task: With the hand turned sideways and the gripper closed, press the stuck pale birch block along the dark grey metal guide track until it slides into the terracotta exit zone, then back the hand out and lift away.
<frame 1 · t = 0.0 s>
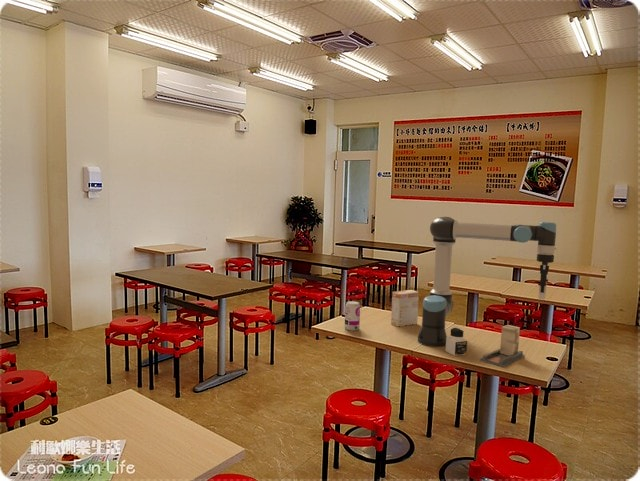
hand: (542, 296, 229), 28 cm above the table, tool pointing down, fingers open, 13 cm apart
supplement can: (351, 329, 262), on the table
coffeecake box: (404, 324, 276), on the table
guide track: (502, 358, 220), on the table
medicine bottle: (455, 353, 226), on the table
birch block: (509, 340, 224), point 8 cm above the table, slide at 0.0 cm
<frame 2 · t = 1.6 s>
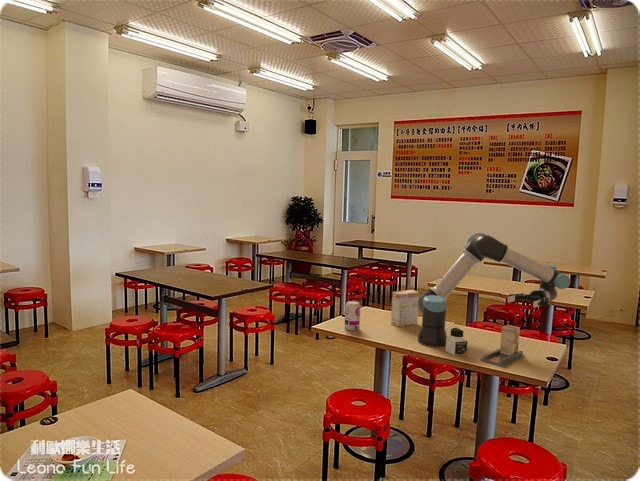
hand: (521, 302, 228), 25 cm above the table, tool horizontal, fingers open, 12 cm apart
nothing on the table moved.
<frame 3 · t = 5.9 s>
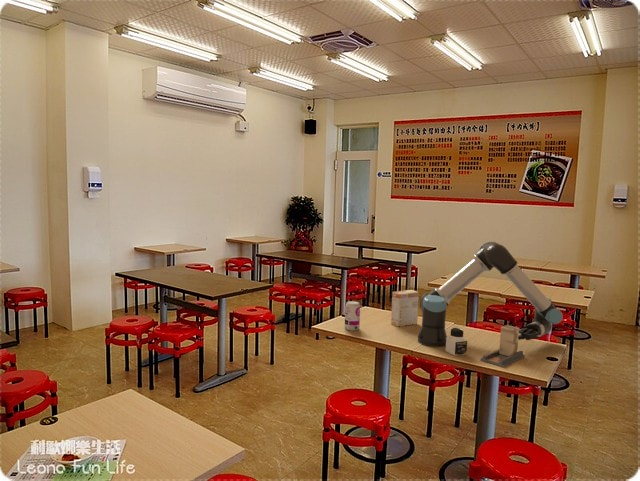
hand: (513, 338, 225), 8 cm above the table, tool horizontal, fingers closed
birch block: (509, 340, 223), point 8 cm above the table, slide at 0.9 cm, touching gripper
everything else where it was.
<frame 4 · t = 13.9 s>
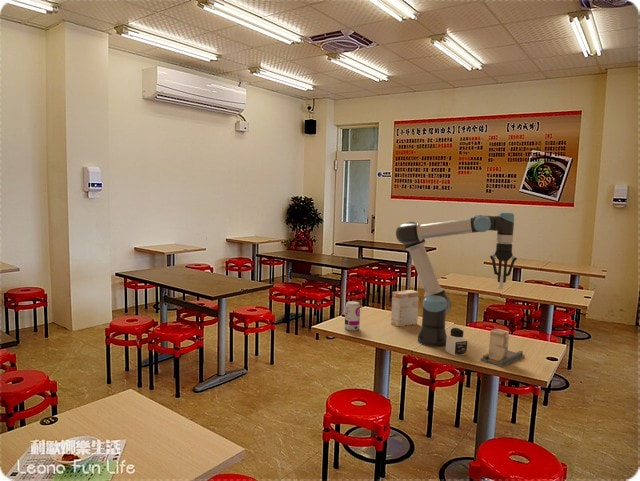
hand: (501, 288, 239), 29 cm above the table, tool pointing down, fingers closed
birch block: (498, 344, 216), point 8 cm above the table, slide at 11.3 cm
everything else where it was.
at the end: birch block slide at 11.3 cm; medicine bottle moved 0.2 cm from its start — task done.
